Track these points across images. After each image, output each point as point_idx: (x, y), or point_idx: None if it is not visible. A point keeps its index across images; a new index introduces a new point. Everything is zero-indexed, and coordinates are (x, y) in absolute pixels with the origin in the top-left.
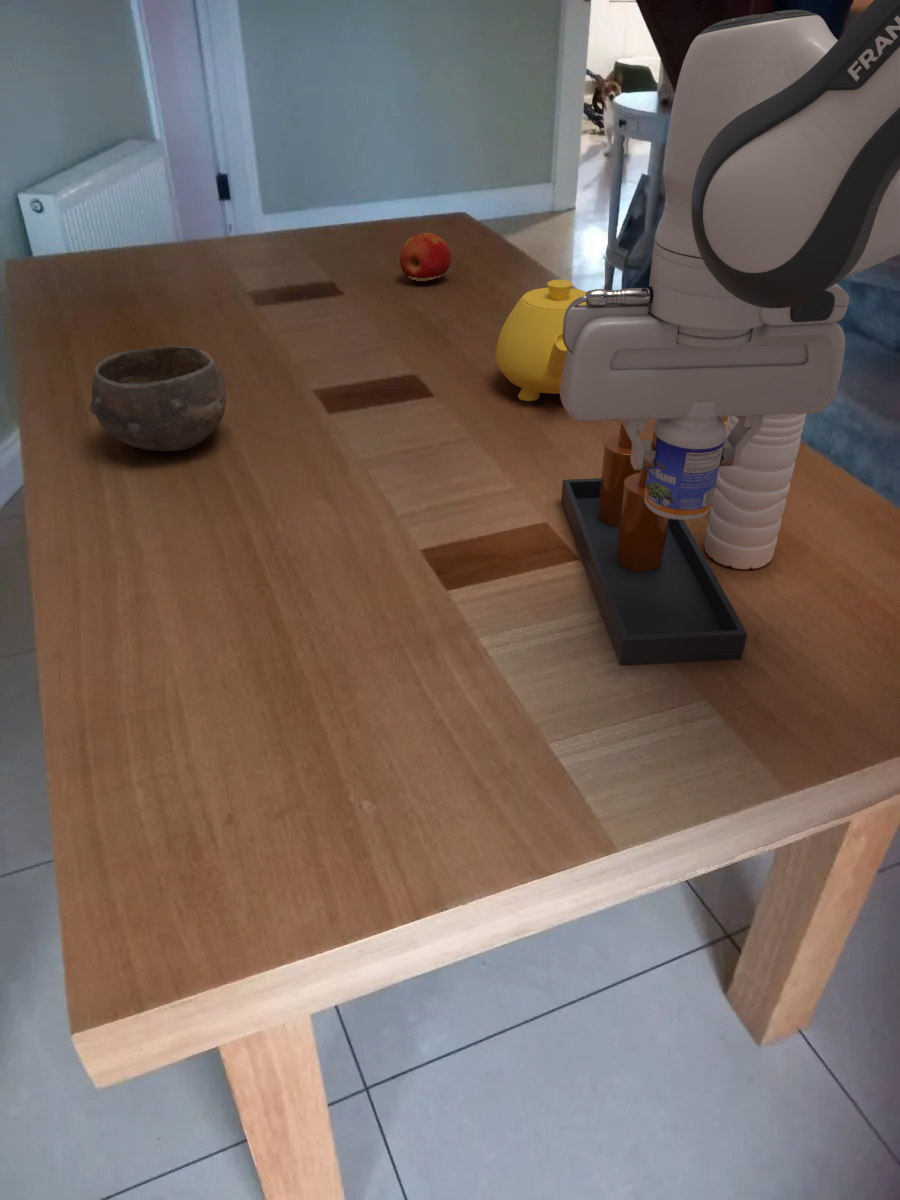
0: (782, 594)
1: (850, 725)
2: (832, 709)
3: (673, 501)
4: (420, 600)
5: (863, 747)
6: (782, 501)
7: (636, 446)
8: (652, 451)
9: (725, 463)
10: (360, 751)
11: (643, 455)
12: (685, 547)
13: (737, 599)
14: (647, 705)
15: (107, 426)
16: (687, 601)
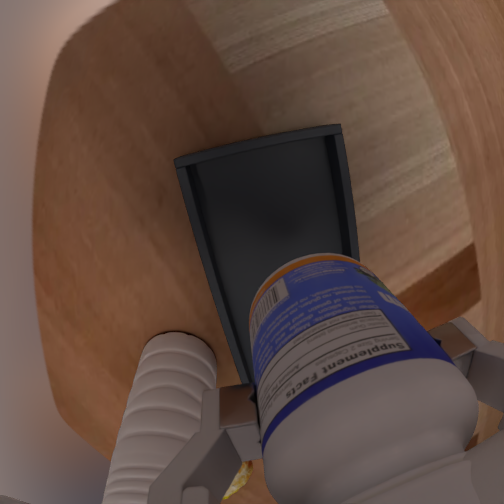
0: (129, 293)
1: (81, 72)
2: (93, 91)
3: (356, 268)
4: (491, 222)
5: (78, 45)
6: (129, 401)
7: (502, 345)
8: (459, 354)
9: (241, 387)
10: (500, 34)
11: (472, 339)
12: (241, 350)
13: (178, 276)
14: (297, 59)
15: None
16: (241, 254)
